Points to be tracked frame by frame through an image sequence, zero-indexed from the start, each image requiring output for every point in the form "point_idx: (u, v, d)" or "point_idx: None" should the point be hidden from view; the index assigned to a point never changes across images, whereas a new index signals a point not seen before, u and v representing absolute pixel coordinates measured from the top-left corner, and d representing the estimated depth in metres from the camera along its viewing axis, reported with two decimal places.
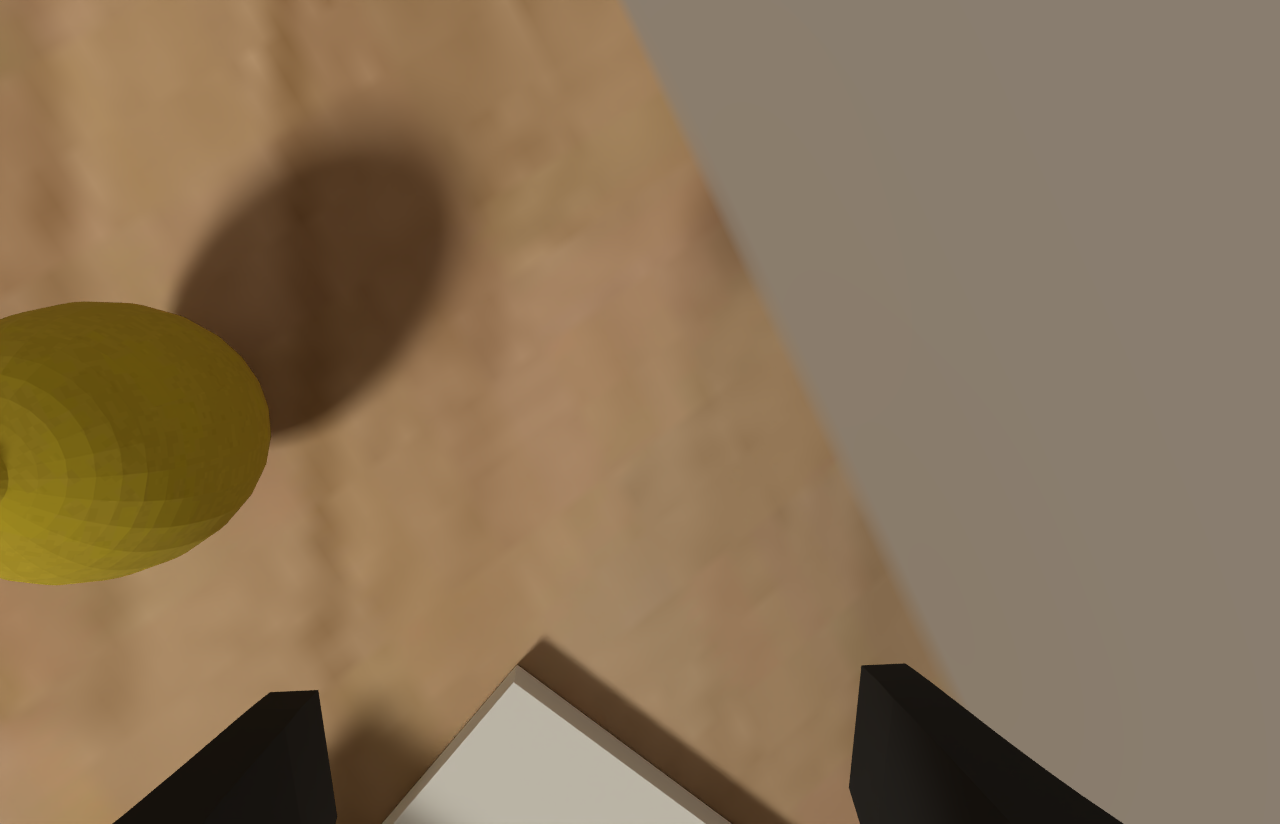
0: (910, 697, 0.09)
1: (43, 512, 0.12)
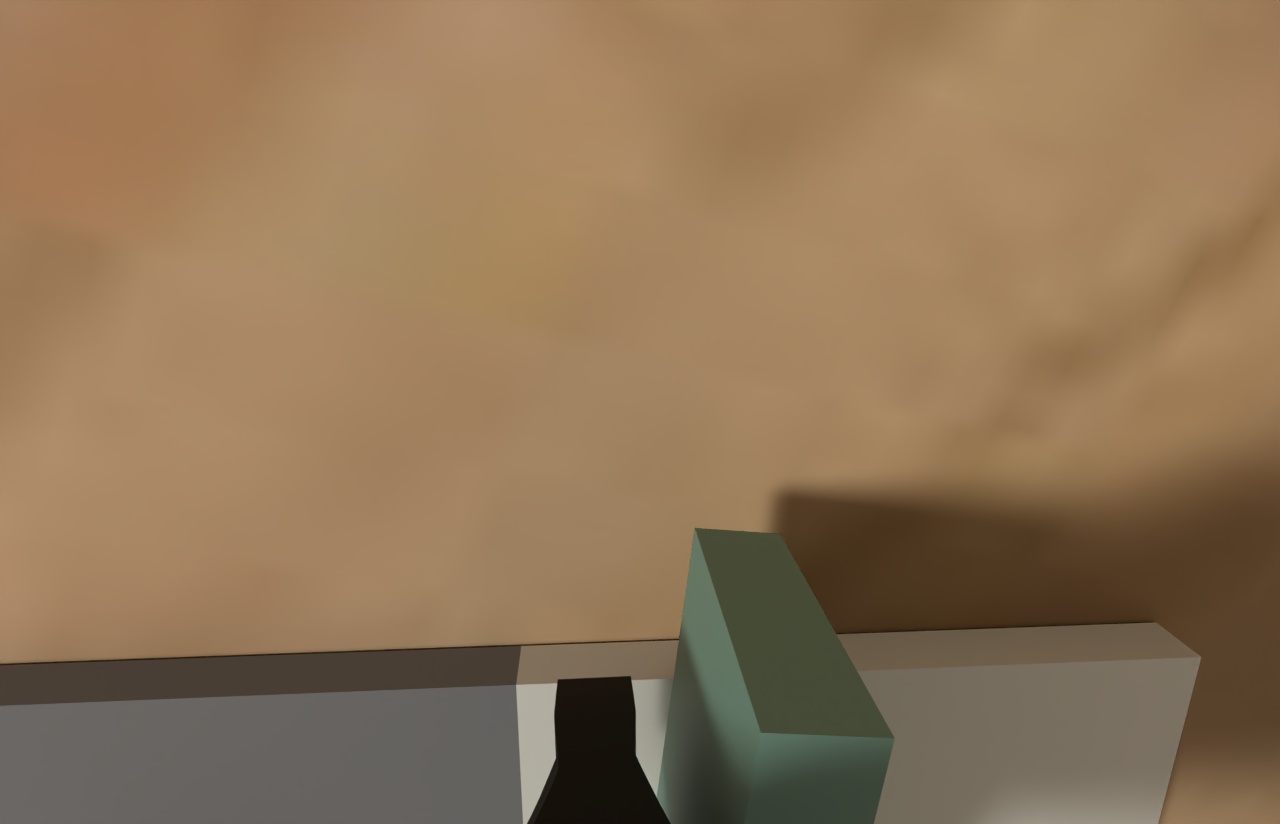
0: (573, 714, 0.09)
1: None
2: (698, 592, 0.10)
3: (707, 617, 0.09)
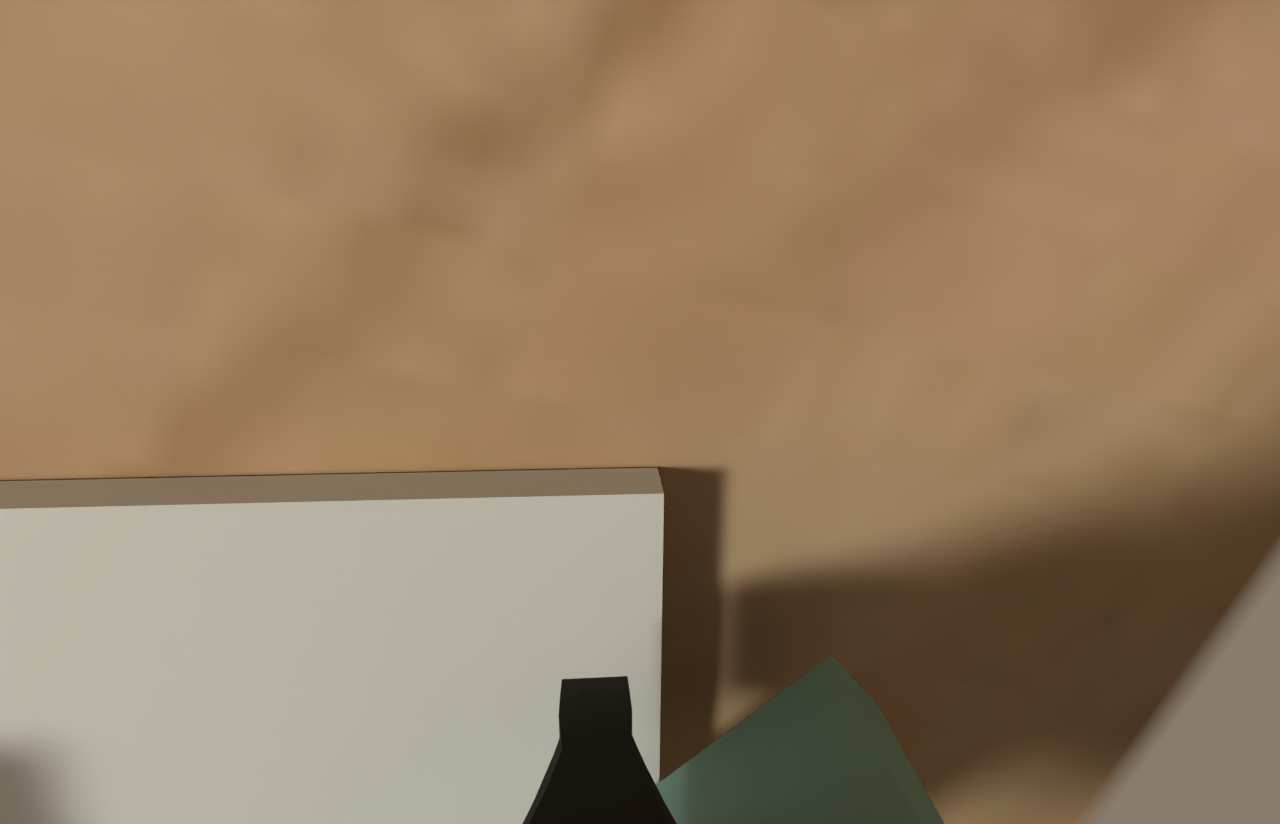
0: (577, 713, 0.09)
1: None
2: (820, 712, 0.10)
3: (841, 746, 0.10)
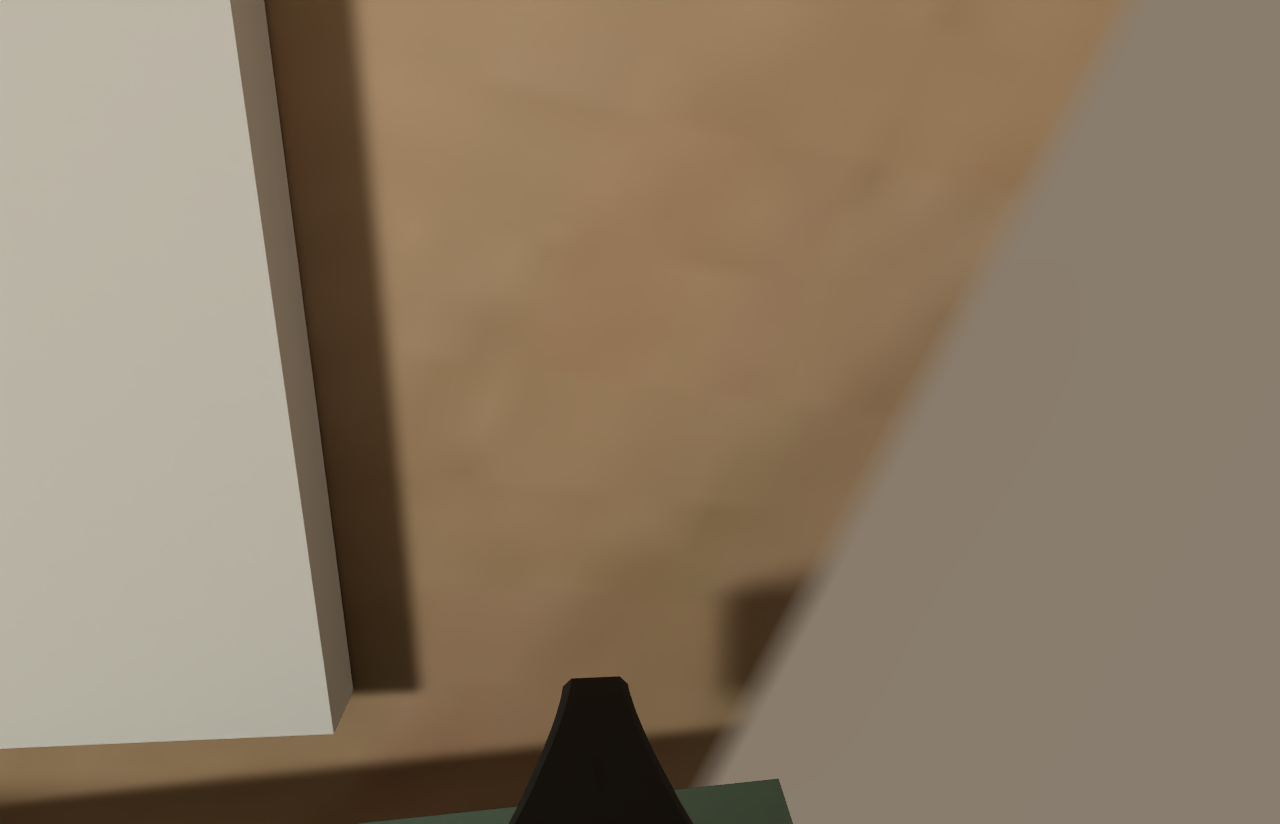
0: (590, 713, 0.09)
1: None
2: None
3: None
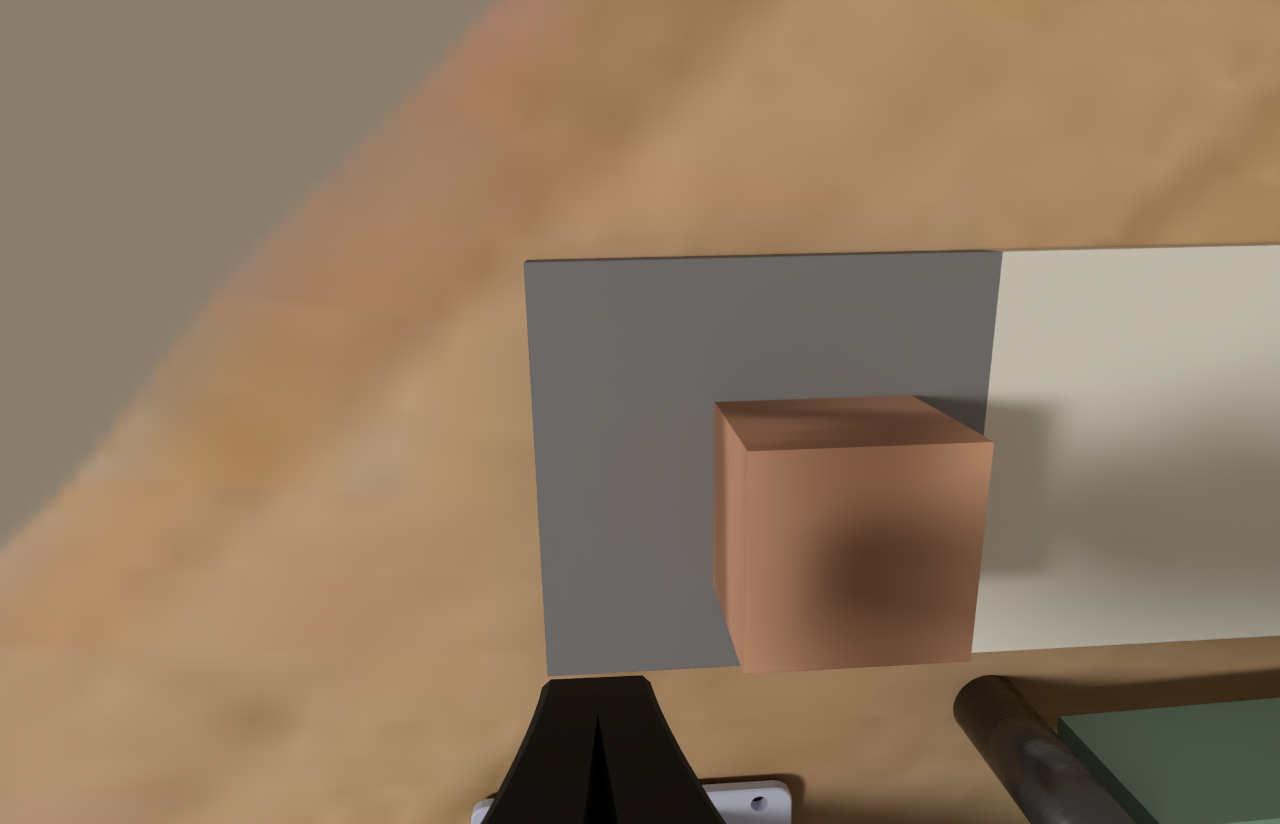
0: (616, 711, 0.09)
1: None
2: None
3: None
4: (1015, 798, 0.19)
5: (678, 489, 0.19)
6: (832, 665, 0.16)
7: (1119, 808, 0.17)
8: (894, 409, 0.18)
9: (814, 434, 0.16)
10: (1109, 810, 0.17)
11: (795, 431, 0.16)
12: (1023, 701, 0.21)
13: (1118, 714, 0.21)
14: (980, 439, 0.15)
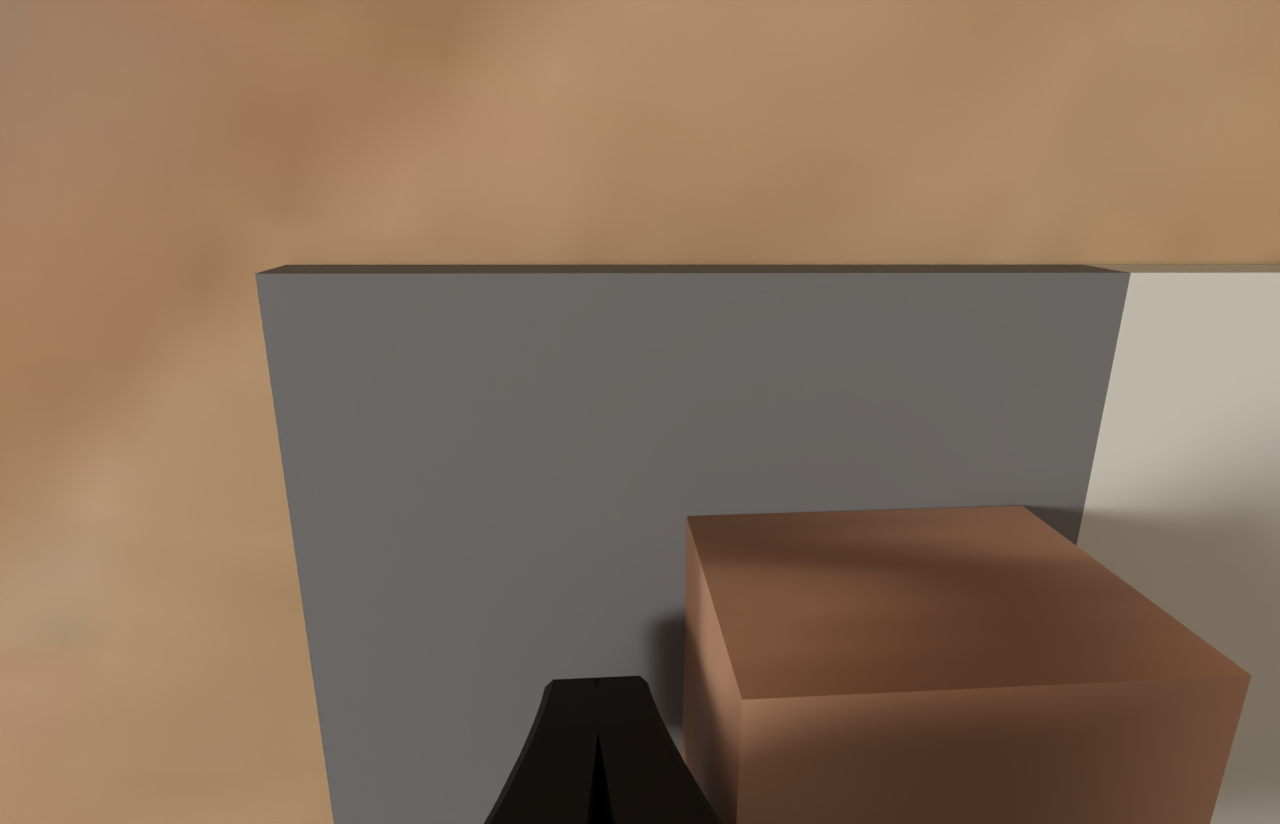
0: (613, 711, 0.09)
1: None
2: None
3: None
4: None
5: (555, 659, 0.11)
6: None
7: None
8: (1007, 548, 0.10)
9: (874, 634, 0.08)
10: None
11: (836, 618, 0.08)
12: None
13: None
14: (1217, 665, 0.07)
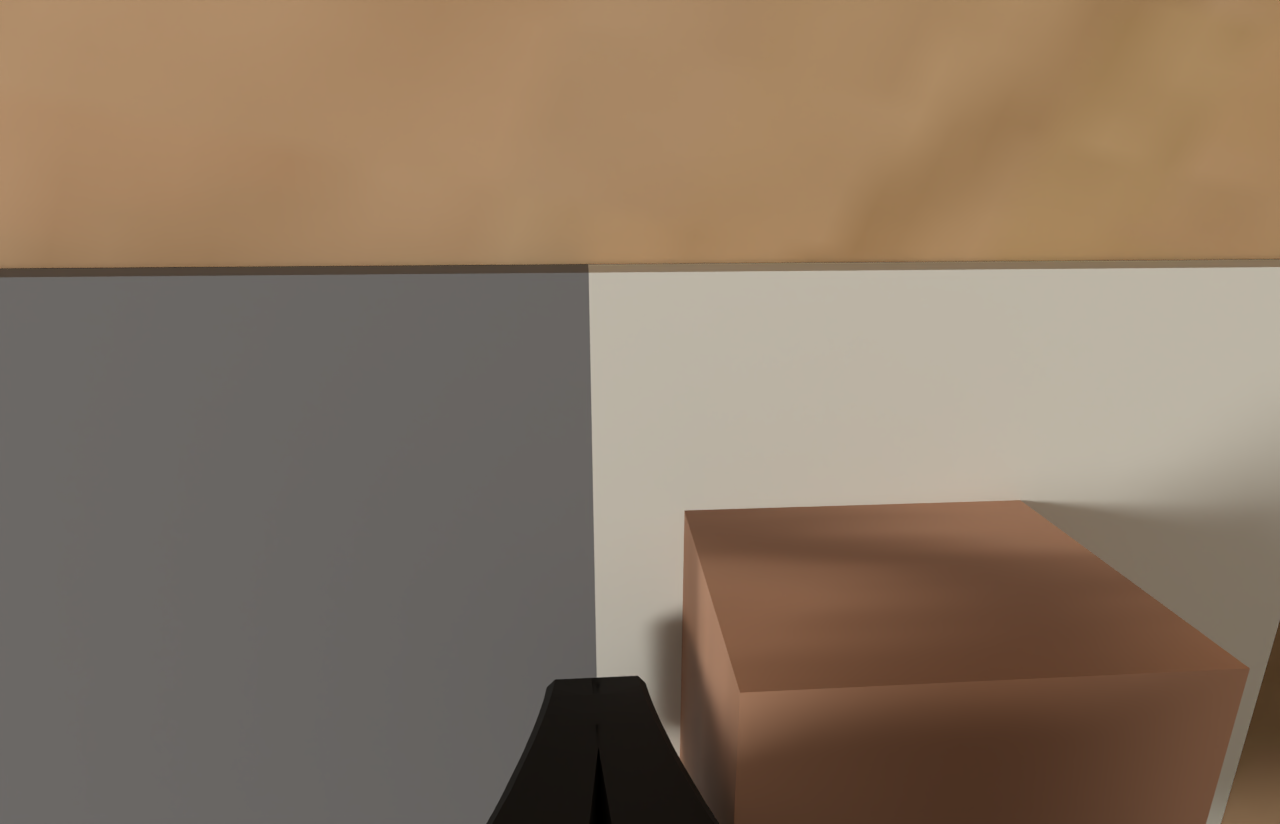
0: (611, 712, 0.09)
1: None
2: None
3: None
4: None
5: (47, 681, 0.11)
6: None
7: None
8: (1005, 543, 0.10)
9: (872, 627, 0.08)
10: None
11: (834, 611, 0.08)
12: None
13: None
14: (1217, 658, 0.07)
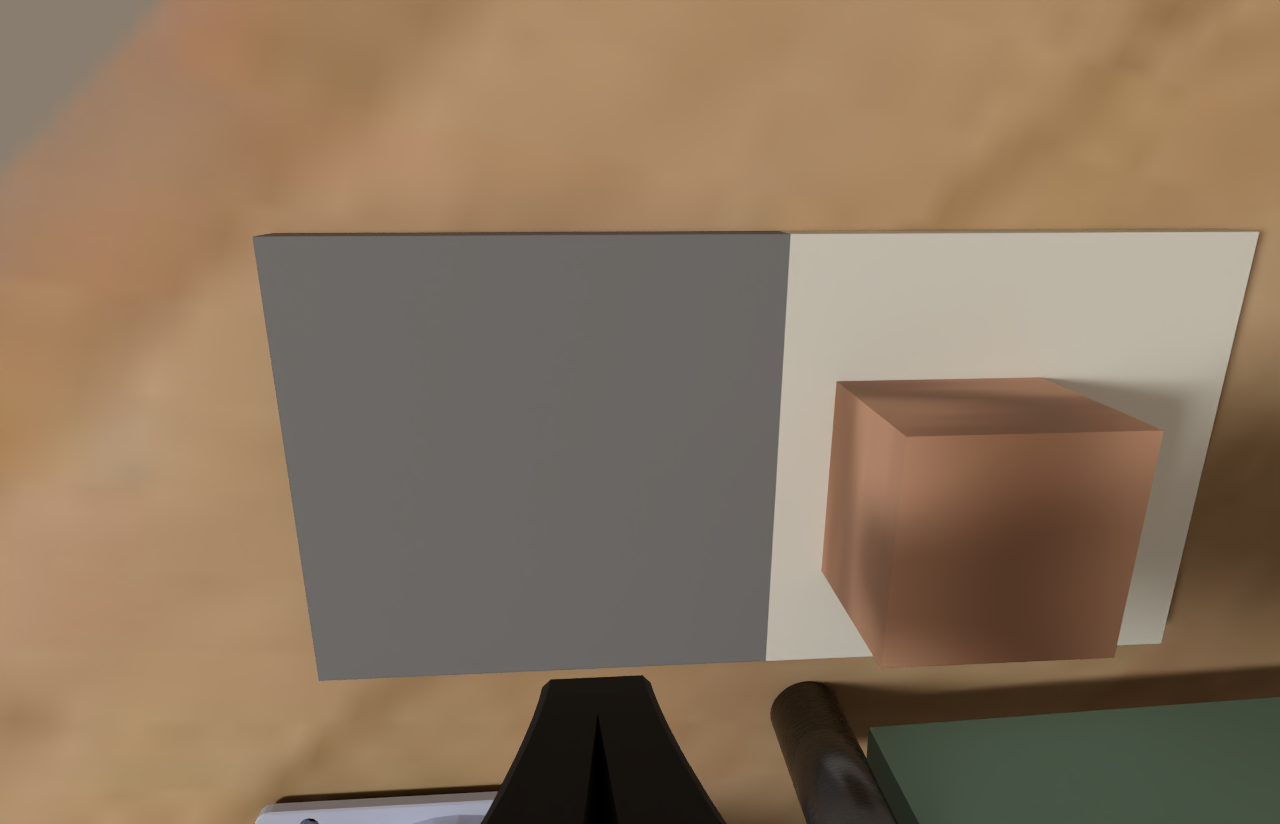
0: (616, 711, 0.09)
1: None
2: None
3: None
4: (804, 815, 0.18)
5: (446, 486, 0.18)
6: (971, 659, 0.16)
7: None
8: (1033, 392, 0.17)
9: (966, 419, 0.15)
10: None
11: (943, 414, 0.15)
12: (834, 710, 0.20)
13: (931, 726, 0.20)
14: (1148, 427, 0.14)
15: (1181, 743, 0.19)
